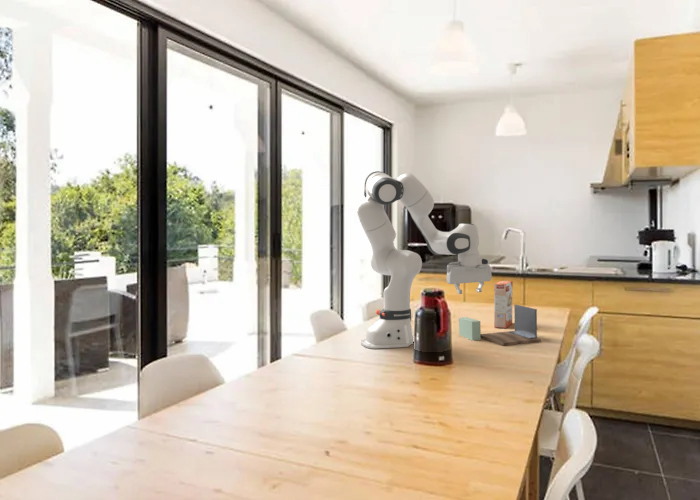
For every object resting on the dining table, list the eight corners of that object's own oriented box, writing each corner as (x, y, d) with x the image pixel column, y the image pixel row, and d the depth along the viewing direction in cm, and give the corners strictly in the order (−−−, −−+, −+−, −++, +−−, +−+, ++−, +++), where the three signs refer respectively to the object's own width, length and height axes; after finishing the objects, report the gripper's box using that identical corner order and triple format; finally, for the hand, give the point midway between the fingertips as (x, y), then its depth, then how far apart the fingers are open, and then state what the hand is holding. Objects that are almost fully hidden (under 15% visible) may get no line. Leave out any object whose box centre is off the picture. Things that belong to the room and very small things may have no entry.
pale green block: (472, 340, 219) (472, 321, 219) (459, 335, 230) (458, 317, 229) (480, 339, 220) (480, 321, 220) (467, 334, 231) (466, 316, 231)
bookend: (529, 338, 214) (528, 309, 214) (508, 332, 228) (508, 305, 227) (536, 338, 215) (536, 309, 215) (516, 331, 229) (515, 304, 228)
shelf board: (503, 346, 208) (503, 343, 208) (479, 337, 225) (479, 334, 225) (541, 341, 214) (541, 338, 214) (514, 333, 231) (514, 330, 231)
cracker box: (507, 328, 241) (506, 283, 240) (493, 327, 244) (493, 283, 243) (513, 323, 253) (513, 280, 252) (500, 322, 256) (500, 280, 255)
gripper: (450, 263, 217) (451, 295, 218) (493, 260, 223) (493, 292, 224) (443, 262, 223) (444, 294, 224) (485, 259, 229) (485, 290, 230)
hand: (469, 293), depth 224 cm, fingers open, 8 cm apart
